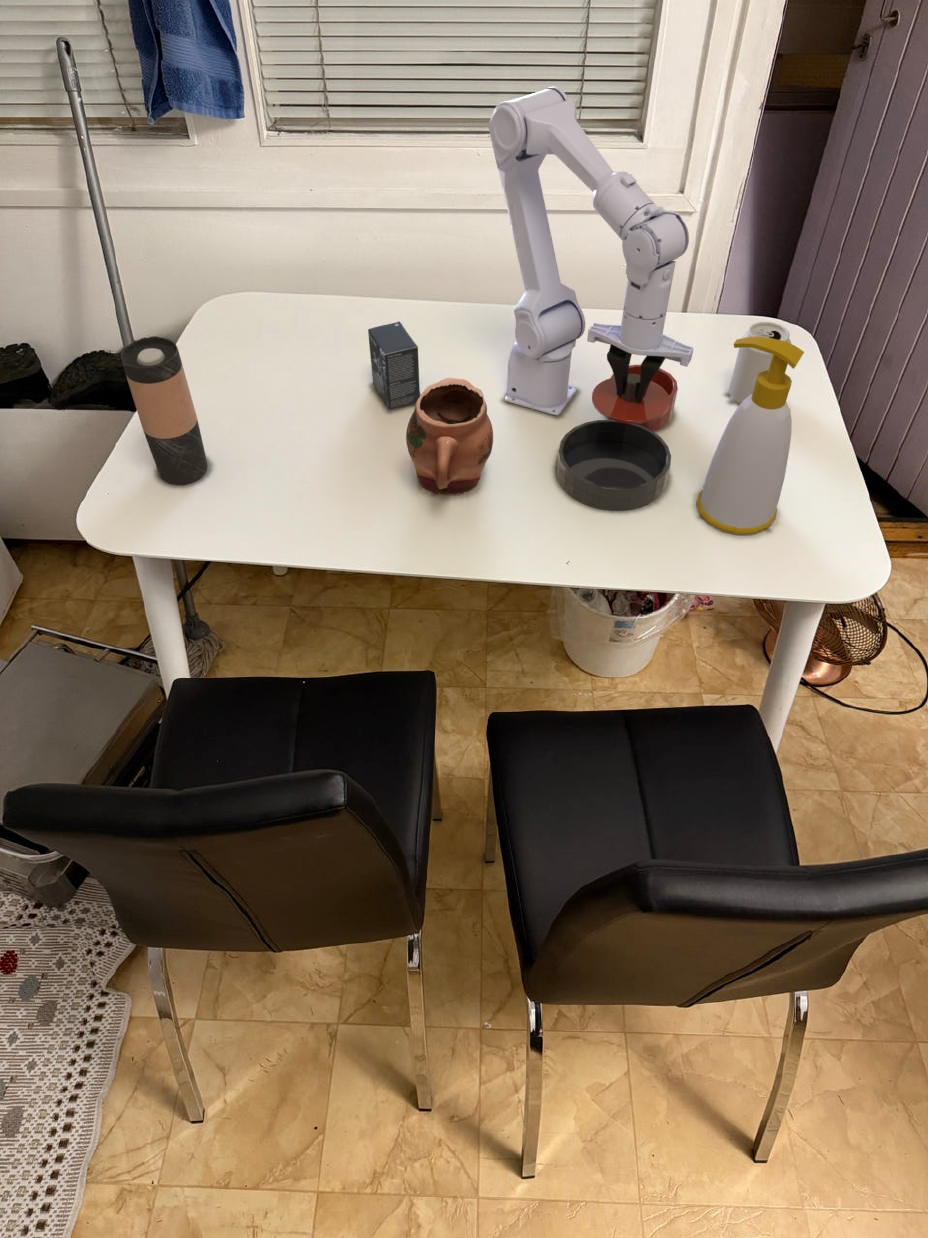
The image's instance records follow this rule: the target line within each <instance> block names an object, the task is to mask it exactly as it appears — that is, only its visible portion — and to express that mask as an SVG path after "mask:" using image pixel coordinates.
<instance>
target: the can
mask: <svg viewBox="0 0 928 1238" xmlns="http://www.w3.org/2000/svg"><path fill="white" fill-rule="evenodd" d="M747 329H748V330H747V331H745V332H744V333H743V334H742V337H741V338H746V337H758V336H760V337H766V338H772V339H776V340H781V341H785V342H787V343H790V344H792V341H791V339H790V336H791V335H790V331H789V330H788V329H787V328H786V327H785V326H783V325H781V324H779V323H776V322H771V321H759V322H755V323H753V324H751V325H750V326H749V327H748V328H747ZM772 357H773V354H770V353H767V352H764V351H761V350H758V349H755V348H747V347H741V348H738V352H737V355H736V360H735V363H734V367H733V372H732V376H731V379H730V383H729V387H728V393H729V396H730V397H731V398H732V399H733V401H735V403H737V404H739V405H740V404H741V403H742V402H743V400H745V399H746V398H747V397H748V396H750V395H751V394H752V393H753V390H754V386H755V383H756V379H757V376H758V374H759V373H760V372H763V371H766V370H769V367H770V364H771V360H772Z"/></svg>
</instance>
